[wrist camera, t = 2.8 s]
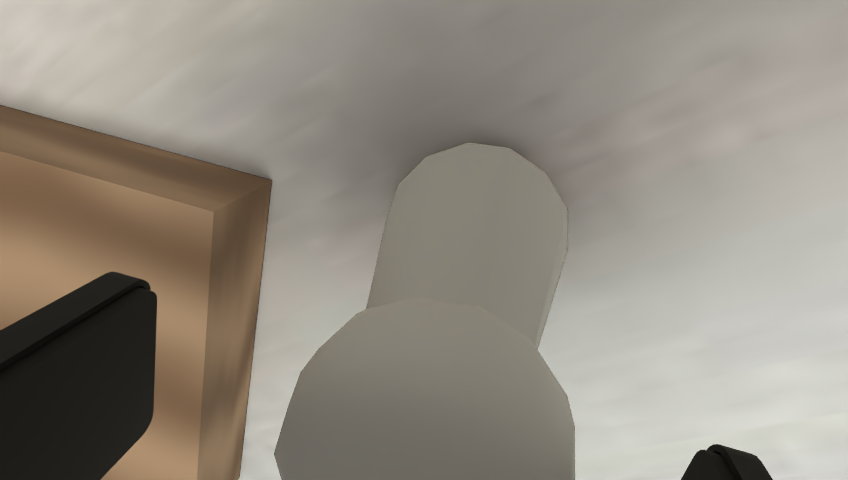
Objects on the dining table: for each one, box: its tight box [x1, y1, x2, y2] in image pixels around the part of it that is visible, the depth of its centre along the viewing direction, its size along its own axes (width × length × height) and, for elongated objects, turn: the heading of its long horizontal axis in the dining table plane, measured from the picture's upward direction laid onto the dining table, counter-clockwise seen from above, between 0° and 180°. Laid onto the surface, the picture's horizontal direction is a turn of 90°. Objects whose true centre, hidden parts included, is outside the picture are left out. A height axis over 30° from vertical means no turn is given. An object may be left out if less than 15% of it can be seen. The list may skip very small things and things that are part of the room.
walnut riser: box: [0, 105, 272, 480], centre depth 21 cm, size 16×14×4 cm
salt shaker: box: [274, 143, 575, 480], centre depth 12 cm, size 6×6×13 cm
